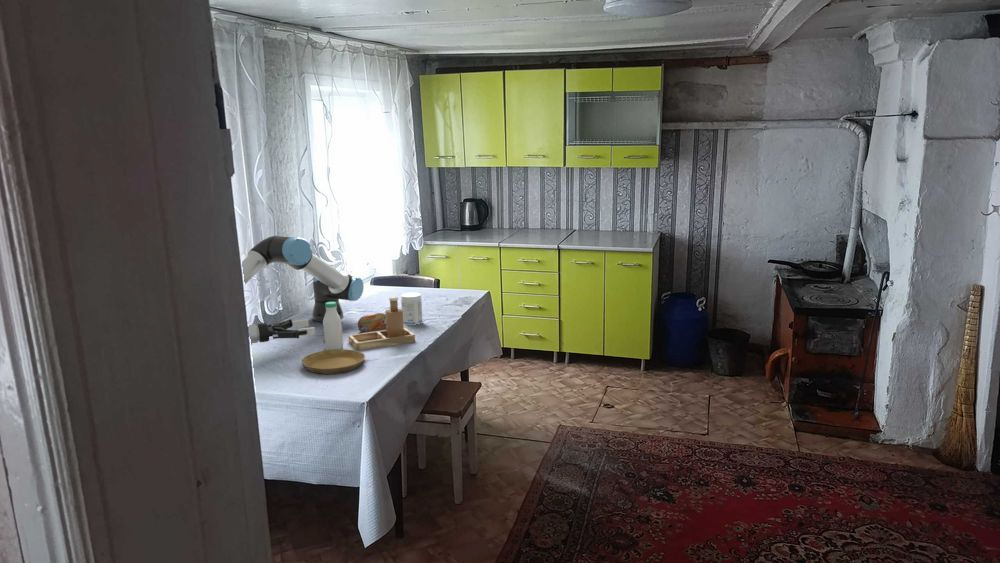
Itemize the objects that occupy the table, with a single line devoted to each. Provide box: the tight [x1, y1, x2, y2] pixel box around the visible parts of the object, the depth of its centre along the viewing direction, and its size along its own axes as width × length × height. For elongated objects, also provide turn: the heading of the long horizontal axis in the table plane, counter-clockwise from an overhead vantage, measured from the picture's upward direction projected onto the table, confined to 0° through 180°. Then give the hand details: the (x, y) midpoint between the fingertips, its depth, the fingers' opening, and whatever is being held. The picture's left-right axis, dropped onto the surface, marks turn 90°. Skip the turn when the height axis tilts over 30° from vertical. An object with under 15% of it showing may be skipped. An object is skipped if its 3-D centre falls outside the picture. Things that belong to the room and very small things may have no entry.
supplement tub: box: [400, 292, 423, 326], centre depth 319 cm, size 10×10×15 cm
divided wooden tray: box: [348, 326, 416, 351], centre depth 290 cm, size 13×26×4 cm, turn 117°
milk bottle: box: [322, 302, 344, 351], centre depth 283 cm, size 8×8×20 cm
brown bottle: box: [384, 296, 405, 338], centre depth 291 cm, size 8×8×19 cm
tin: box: [357, 312, 386, 333], centre depth 308 cm, size 15×3×8 cm, turn 129°
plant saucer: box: [301, 348, 366, 375], centre depth 264 cm, size 24×24×3 cm
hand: (311, 326), depth 279 cm, fingers open, 13 cm apart
